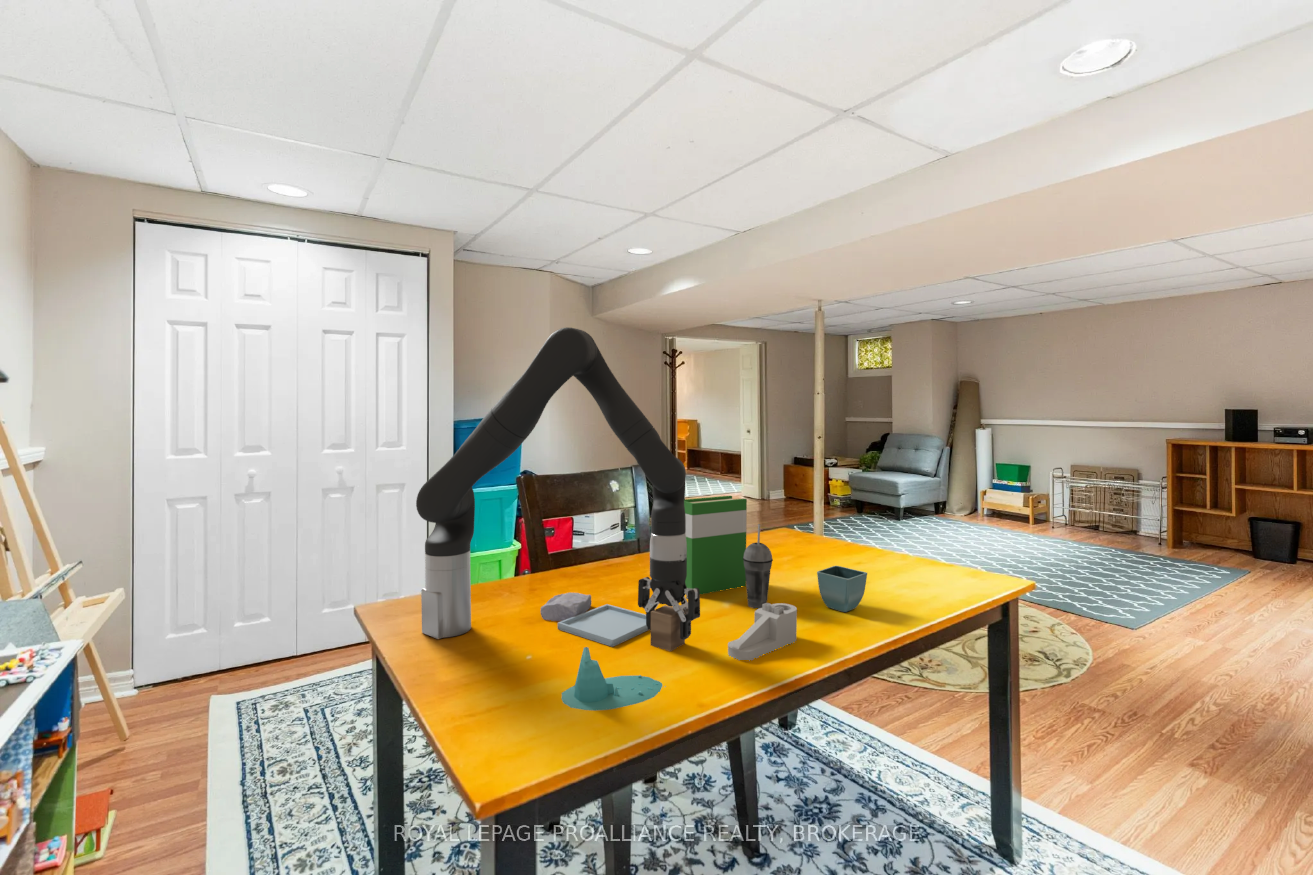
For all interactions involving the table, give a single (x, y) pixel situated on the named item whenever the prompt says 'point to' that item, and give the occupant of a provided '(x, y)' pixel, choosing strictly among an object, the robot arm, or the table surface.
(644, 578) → the robot arm
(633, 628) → the dish
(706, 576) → the hardback book
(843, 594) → the flower pot
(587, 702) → the diorama
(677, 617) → the walnut block
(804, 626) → the table surface
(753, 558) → the beverage cup
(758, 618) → the sloped support bracket
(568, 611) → the stone block
